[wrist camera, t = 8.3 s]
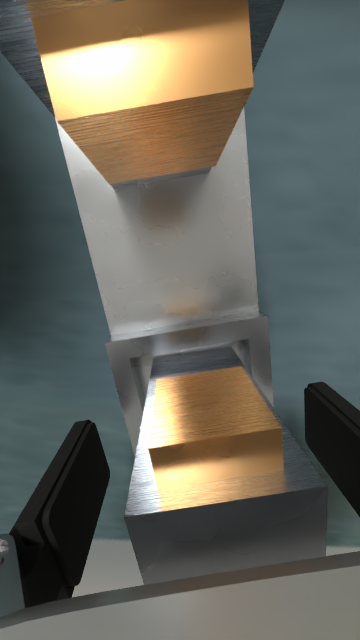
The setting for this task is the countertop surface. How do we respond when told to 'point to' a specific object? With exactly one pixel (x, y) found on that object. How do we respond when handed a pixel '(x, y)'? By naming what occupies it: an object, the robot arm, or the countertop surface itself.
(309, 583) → the robot arm
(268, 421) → the grey block
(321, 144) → the countertop surface
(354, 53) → the countertop surface
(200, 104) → the rail
